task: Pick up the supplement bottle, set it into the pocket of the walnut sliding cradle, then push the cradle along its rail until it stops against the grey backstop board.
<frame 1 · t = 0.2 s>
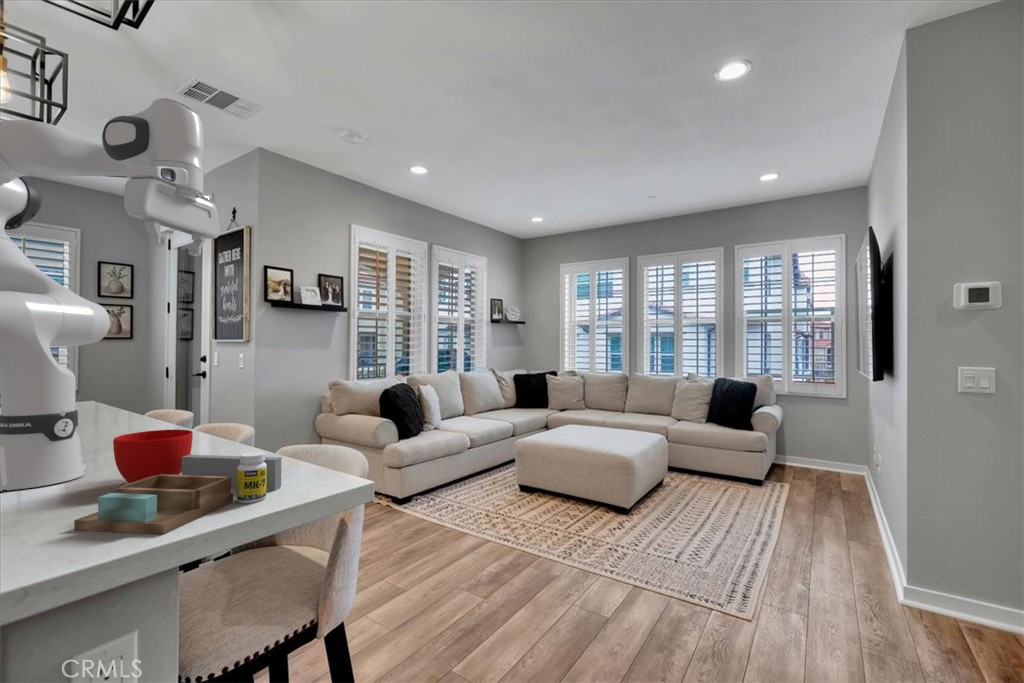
hand: (176, 251, 95), 48 cm above the kitchen island, tool pointing down, fingers open, 8 cm apart
backstop board: (231, 487, 94), on the kitchen island
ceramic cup: (151, 483, 97), on the kitchen island
cradle: (160, 499, 79), point 3 cm above the kitchen island, slide at 0.0 cm
supplement bottle: (251, 500, 86), on the kitchen island
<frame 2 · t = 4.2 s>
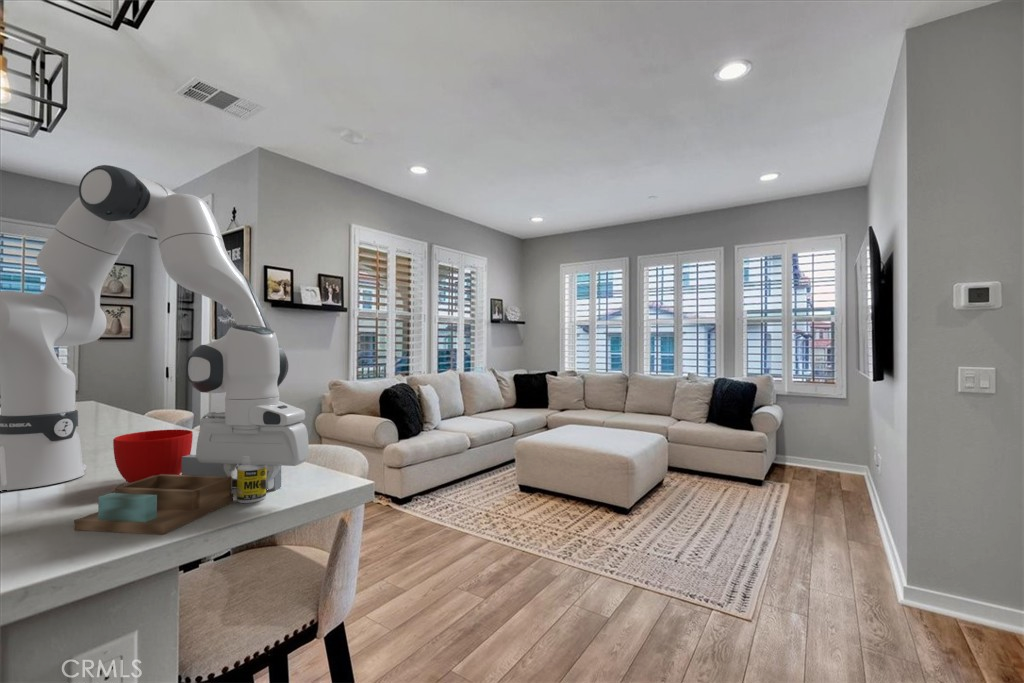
hand: (252, 487, 86), 2 cm above the kitchen island, tool pointing down, fingers closed on supplement bottle, 5 cm apart
supplement bottle: (251, 500, 86), on the kitchen island, touching gripper
everything else where it was.
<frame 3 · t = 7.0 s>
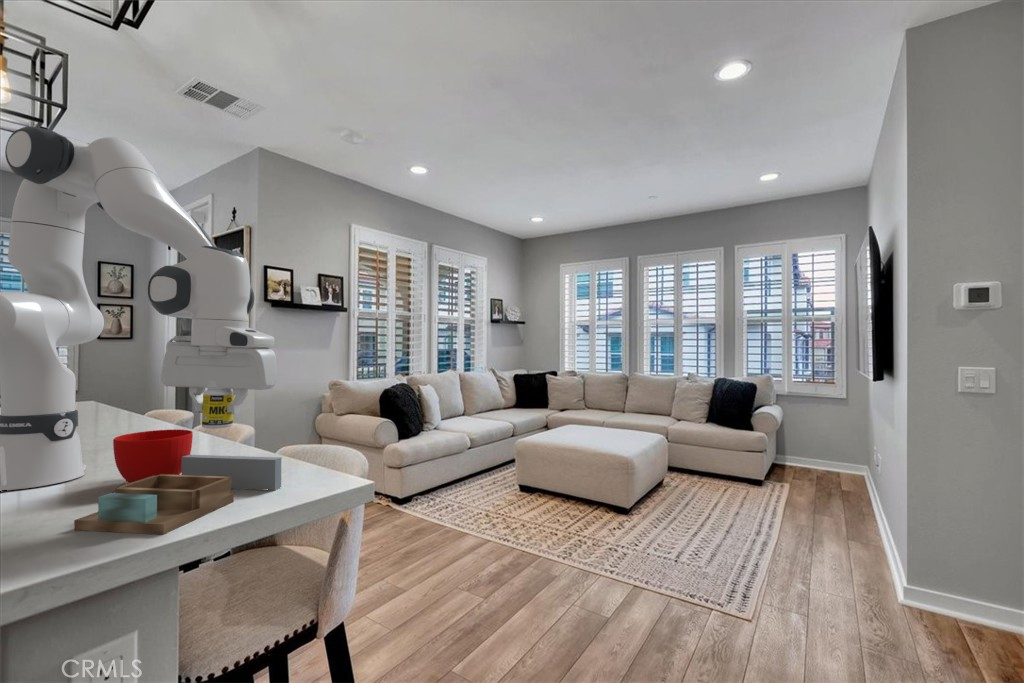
hand: (217, 413, 85), 16 cm above the kitchen island, tool pointing down, fingers closed on supplement bottle, 5 cm apart
supplement bottle: (217, 427, 85), point 14 cm above the kitchen island, touching gripper
everything else where it was.
when the fingers open (5 cm above the kitchen island, at t = 10.2 s): supplement bottle stays where it is, resting on cradle.
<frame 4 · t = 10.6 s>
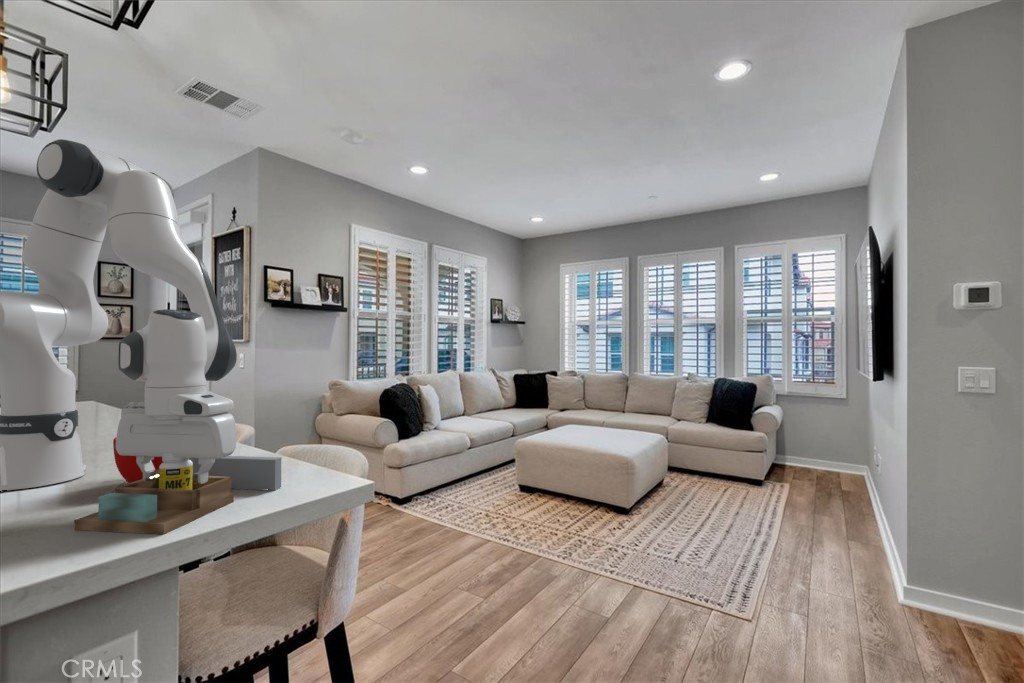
hand: (175, 482, 82), 5 cm above the kitchen island, tool pointing down, fingers open, 8 cm apart
cradle: (160, 499, 79), point 3 cm above the kitchen island, slide at 0.0 cm, touching supplement bottle
supplement bottle: (175, 500, 82), point 1 cm above the kitchen island, touching cradle
everything else where it was.
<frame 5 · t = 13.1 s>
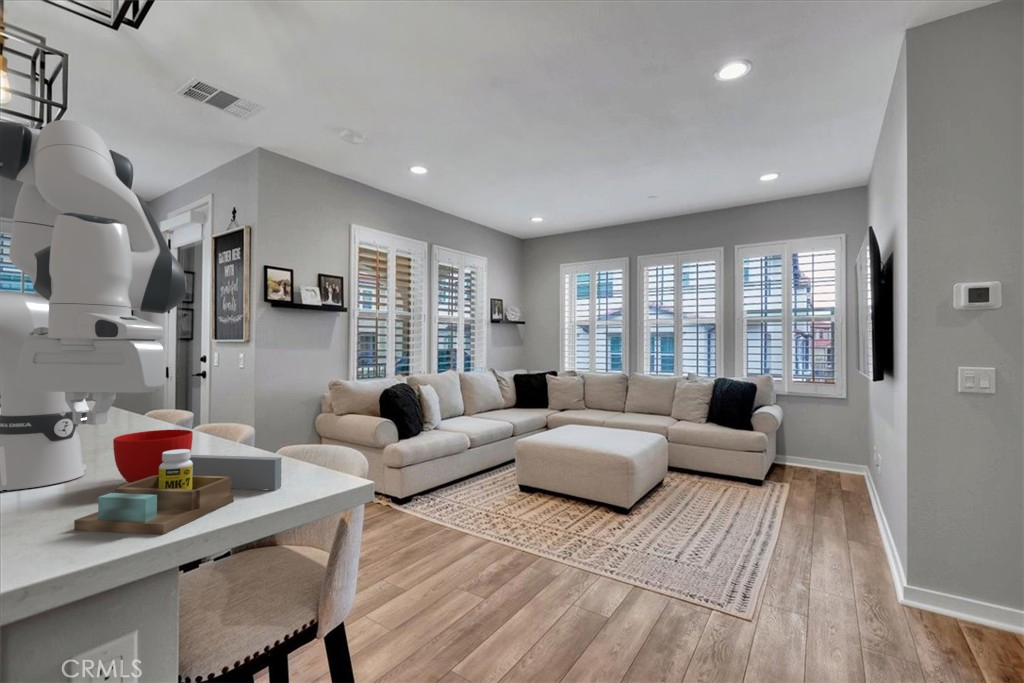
hand: (90, 423, 67), 17 cm above the kitchen island, tool pointing down, fingers closed
nothing on the kitchen island moved.
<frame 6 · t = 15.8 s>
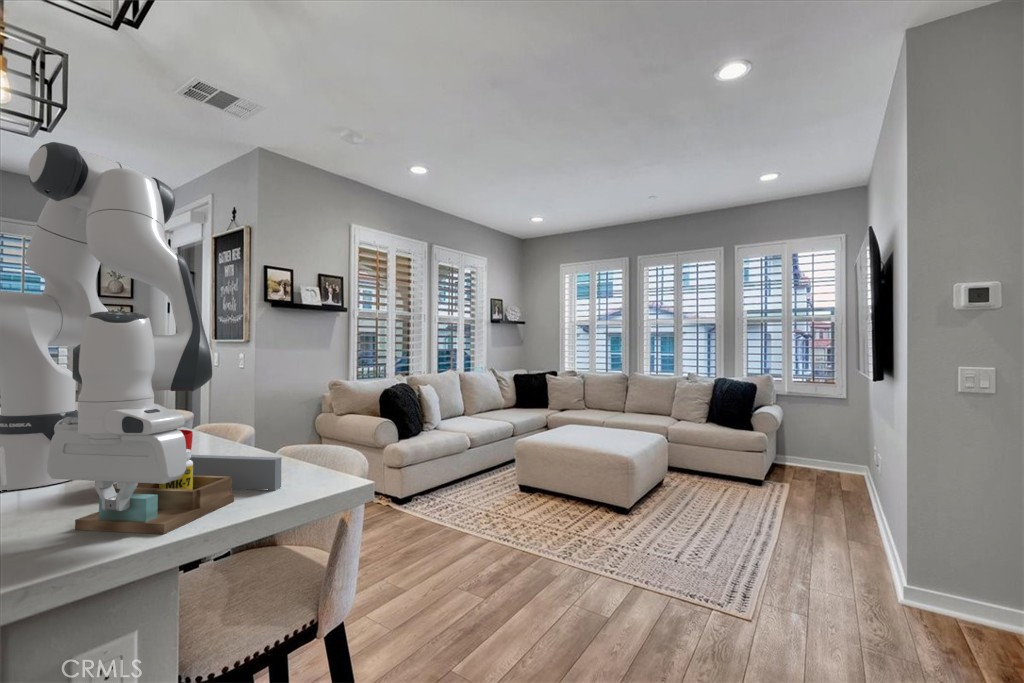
hand: (115, 509, 71), 3 cm above the kitchen island, tool pointing down, fingers closed, pressing on cradle
cradle: (161, 499, 79), point 2 cm above the kitchen island, slide at 0.1 cm, touching supplement bottle, gripper
everything else where it was.
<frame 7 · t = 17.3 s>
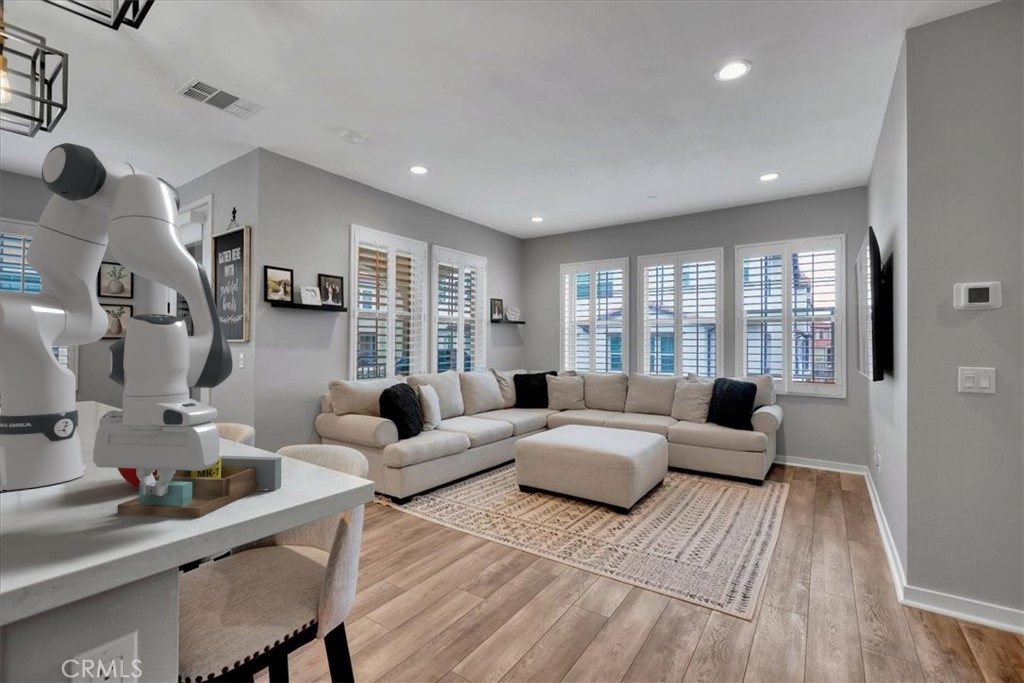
hand: (155, 494, 78), 4 cm above the kitchen island, tool pointing down, fingers closed, pressing on cradle
cradle: (193, 487, 85), point 3 cm above the kitchen island, slide at 7.0 cm, touching backstop board, supplement bottle, gripper
supplement bottle: (206, 488, 88), point 1 cm above the kitchen island, touching cradle
everything else where it was.
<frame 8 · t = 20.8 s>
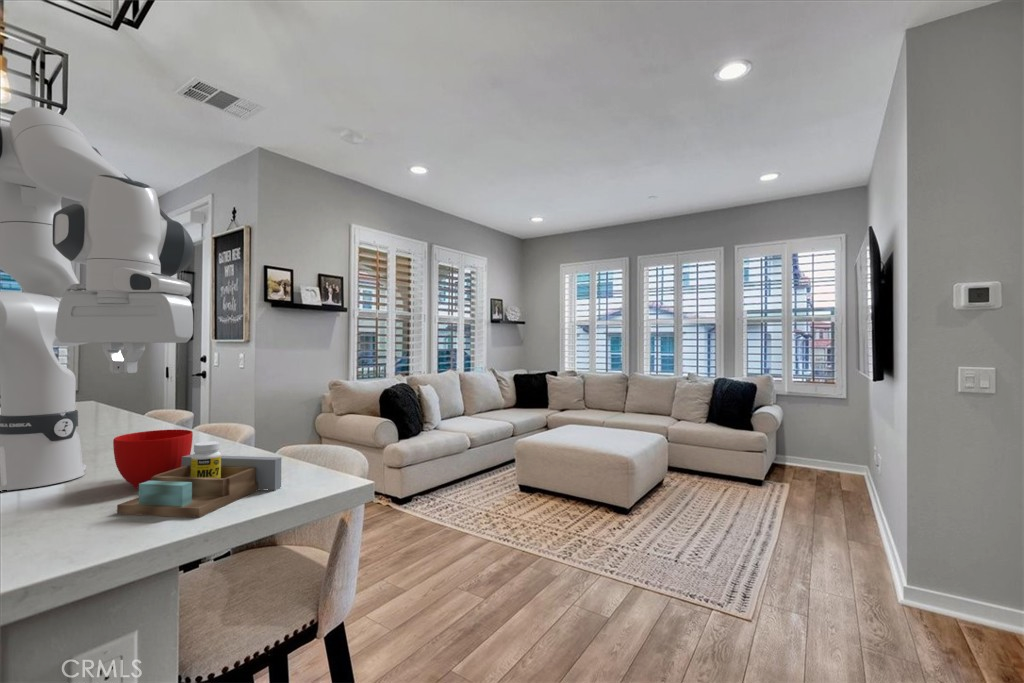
hand: (123, 372, 72), 24 cm above the kitchen island, tool pointing down, fingers closed
cradle: (193, 487, 85), point 3 cm above the kitchen island, slide at 6.9 cm, touching supplement bottle
everything else where it was.
at the end: cradle slide at 6.9 cm; supplement bottle inside the target area on the cradle (0.0 cm from its centre), point 1.3 cm above the cradle's base; supplement bottle tilted 0° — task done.
